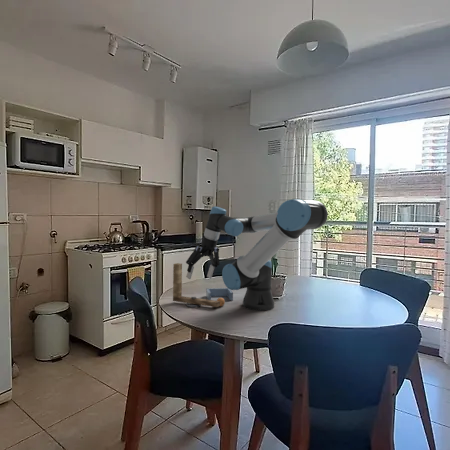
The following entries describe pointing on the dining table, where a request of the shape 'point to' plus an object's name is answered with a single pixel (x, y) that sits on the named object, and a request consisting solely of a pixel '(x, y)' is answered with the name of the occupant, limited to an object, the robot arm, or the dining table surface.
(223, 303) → the ball
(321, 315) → the dining table surface
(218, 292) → the blue-gray u-shaped bracket
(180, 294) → the lever
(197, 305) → the pivot base
